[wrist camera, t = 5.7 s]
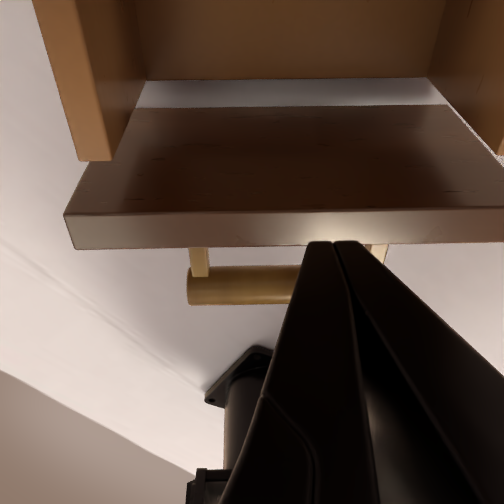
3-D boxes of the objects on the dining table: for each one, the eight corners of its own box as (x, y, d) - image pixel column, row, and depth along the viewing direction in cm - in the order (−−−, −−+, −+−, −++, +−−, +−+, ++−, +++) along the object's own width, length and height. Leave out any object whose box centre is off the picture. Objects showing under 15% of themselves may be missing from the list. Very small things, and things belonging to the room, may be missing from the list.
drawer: (410, 228, 20) (467, 346, 15) (142, 233, 19) (110, 354, 15) (650, -578, 8) (1333, -1318, 3) (-33, -588, 8) (-510, -1398, 3)
